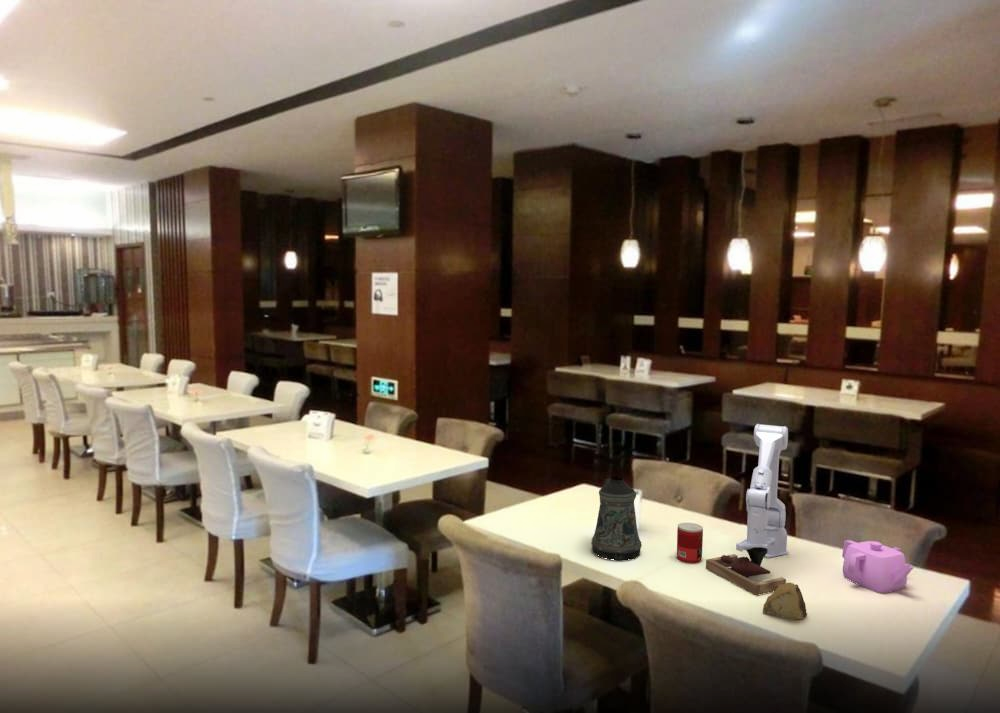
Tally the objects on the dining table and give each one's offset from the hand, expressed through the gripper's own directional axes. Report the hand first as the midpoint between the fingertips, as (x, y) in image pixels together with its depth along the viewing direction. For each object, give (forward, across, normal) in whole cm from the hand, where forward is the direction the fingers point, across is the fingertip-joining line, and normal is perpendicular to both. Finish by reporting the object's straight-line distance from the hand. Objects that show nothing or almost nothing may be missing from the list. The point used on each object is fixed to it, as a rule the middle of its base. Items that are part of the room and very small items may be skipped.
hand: (755, 570), depth 207 cm
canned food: (+2, -10, +19) cm, 21 cm away
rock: (+2, -12, -22) cm, 25 cm away
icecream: (+2, -4, 0) cm, 5 cm away
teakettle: (+2, +30, -18) cm, 35 cm away
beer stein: (+2, -29, +35) cm, 45 cm away
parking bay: (+2, -4, 0) cm, 4 cm away
